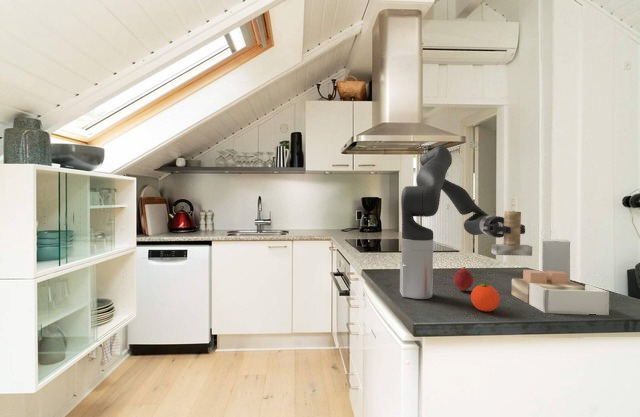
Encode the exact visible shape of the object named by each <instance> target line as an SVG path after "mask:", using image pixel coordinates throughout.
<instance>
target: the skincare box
mask: <svg viewBox="0 0 640 417" xmlns="http://www.w3.org/2000/svg"><path fill="white" fill-rule="evenodd" d="M541 244H542V246H541V247H542V251H541V252H542V255H541V256H542V272H544V270H552V271H562V272H565V273H568V281H571V241H570V240H569V239H558V238H554V239H552V238H542V242H541Z"/></svg>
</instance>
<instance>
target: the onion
mask: <svg viewBox="0 0 640 417" xmlns="http://www.w3.org/2000/svg"><path fill="white" fill-rule="evenodd" d="M453 275H454V276H453V282H454V285H455V286H456V287H457V288H458V289H459V290H460V291H461V292H465V291H467V290H469V289H470V288H471V287H472V286H473V284H474V277H473V275H472V273H471V272H470V271H469V270H467V269H466V266H464V265H463V266H461V269H459V270H458V271H457V270H456V272H455V274H453Z"/></svg>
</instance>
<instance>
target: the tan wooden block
mask: <svg viewBox="0 0 640 417" xmlns="http://www.w3.org/2000/svg"><path fill="white" fill-rule="evenodd" d="M534 284H536V285H538V286H541V287H543V288H545V289H554V290H585V285H581V284H579V283H576V282H573V281H571V280H570V281H568V284H553V283H550V282H547V283H534ZM529 287H530V282H528V281H525V280H523V278H517V277H515V278H511V295H512V296H514V297H515V298H517V299H519V300H521V301H522V302H524V303H525V304H528V305H530V304H529Z"/></svg>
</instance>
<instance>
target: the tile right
mask: <svg viewBox="0 0 640 417" xmlns="http://www.w3.org/2000/svg"><path fill="white" fill-rule="evenodd" d="M544 272H545V273H547V282H550V283H553V284H568V273H565V272H562V271H552V270H544Z"/></svg>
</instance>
